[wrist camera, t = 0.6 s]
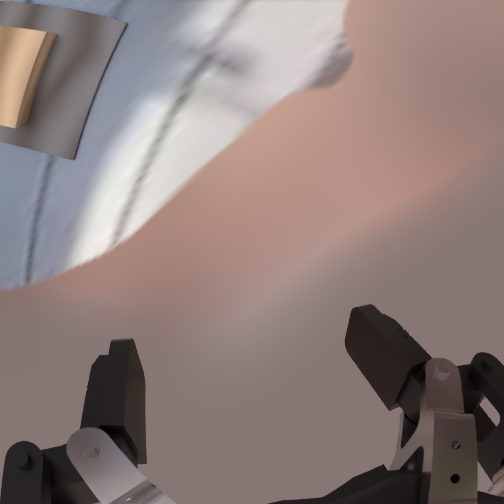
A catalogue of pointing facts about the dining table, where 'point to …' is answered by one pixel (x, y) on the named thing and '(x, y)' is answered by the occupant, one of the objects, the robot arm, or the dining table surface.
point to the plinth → (50, 73)
